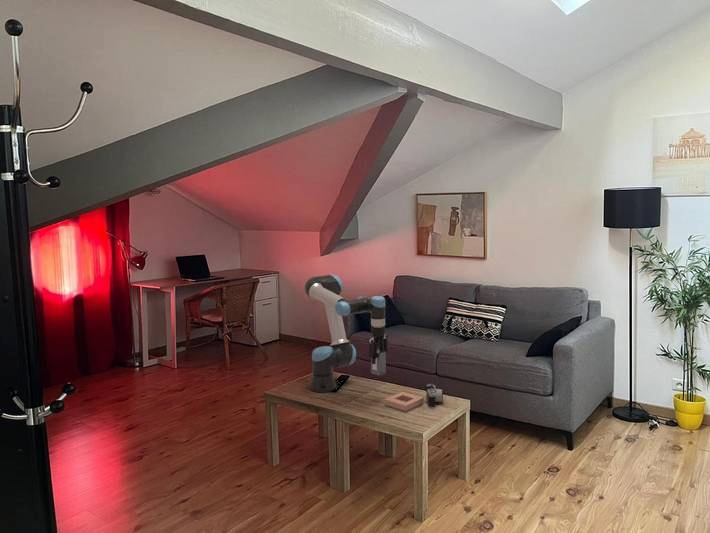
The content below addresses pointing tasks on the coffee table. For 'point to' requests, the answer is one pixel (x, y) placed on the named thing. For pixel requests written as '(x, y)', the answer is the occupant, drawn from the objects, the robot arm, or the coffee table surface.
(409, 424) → the coffee table surface
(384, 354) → the grey wood-topped pillar
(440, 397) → the camera
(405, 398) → the pink square frame
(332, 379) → the robot arm
